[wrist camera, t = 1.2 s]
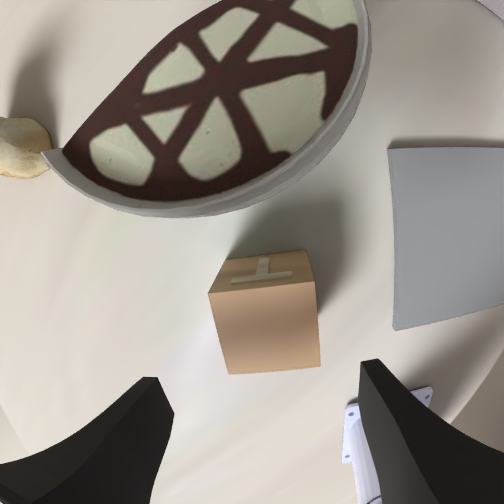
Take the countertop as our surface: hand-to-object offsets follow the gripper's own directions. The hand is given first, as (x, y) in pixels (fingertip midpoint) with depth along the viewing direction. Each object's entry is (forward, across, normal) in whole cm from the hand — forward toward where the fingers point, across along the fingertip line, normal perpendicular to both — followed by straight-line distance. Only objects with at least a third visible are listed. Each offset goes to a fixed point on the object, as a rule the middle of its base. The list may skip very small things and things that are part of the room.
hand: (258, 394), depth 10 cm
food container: (+10, -1, -9) cm, 14 cm away
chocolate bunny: (+11, +17, -13) cm, 24 cm away
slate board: (+10, -14, -1) cm, 17 cm away
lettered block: (+10, 0, +1) cm, 10 cm away
